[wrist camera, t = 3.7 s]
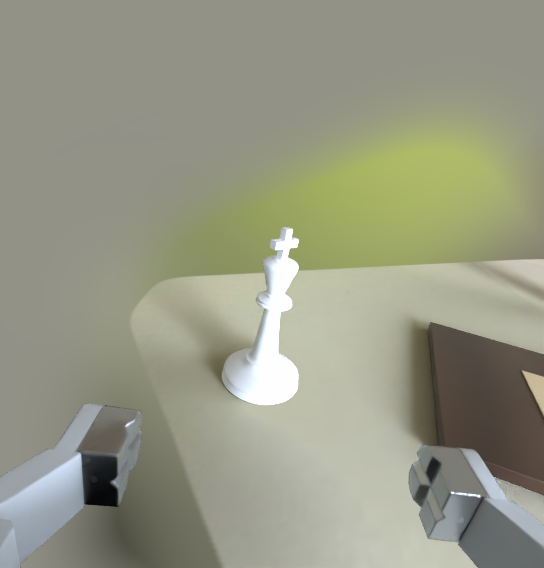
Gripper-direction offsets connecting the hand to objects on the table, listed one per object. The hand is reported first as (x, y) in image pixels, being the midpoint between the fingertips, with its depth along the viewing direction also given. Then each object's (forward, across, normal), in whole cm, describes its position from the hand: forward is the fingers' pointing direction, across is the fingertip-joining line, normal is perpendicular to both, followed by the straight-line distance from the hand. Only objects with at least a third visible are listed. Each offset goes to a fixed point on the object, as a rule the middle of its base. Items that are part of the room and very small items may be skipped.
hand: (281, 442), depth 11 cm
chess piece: (+11, 0, +7) cm, 13 cm away
